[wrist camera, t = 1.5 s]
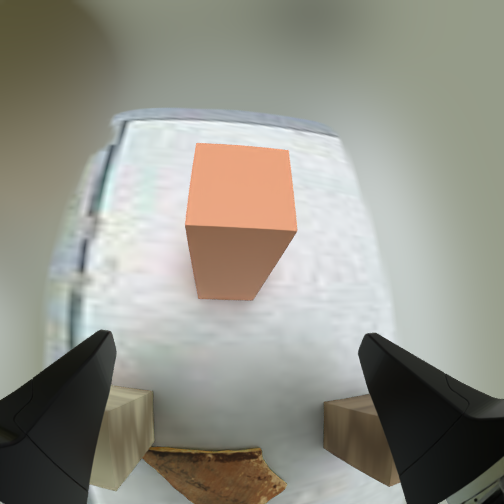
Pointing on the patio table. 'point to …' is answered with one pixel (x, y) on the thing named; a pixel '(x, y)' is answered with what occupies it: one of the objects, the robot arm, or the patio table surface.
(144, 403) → the birch block
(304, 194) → the patio table surface
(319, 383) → the patio table surface
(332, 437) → the walnut block
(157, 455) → the shard
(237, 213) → the salmon orange block
